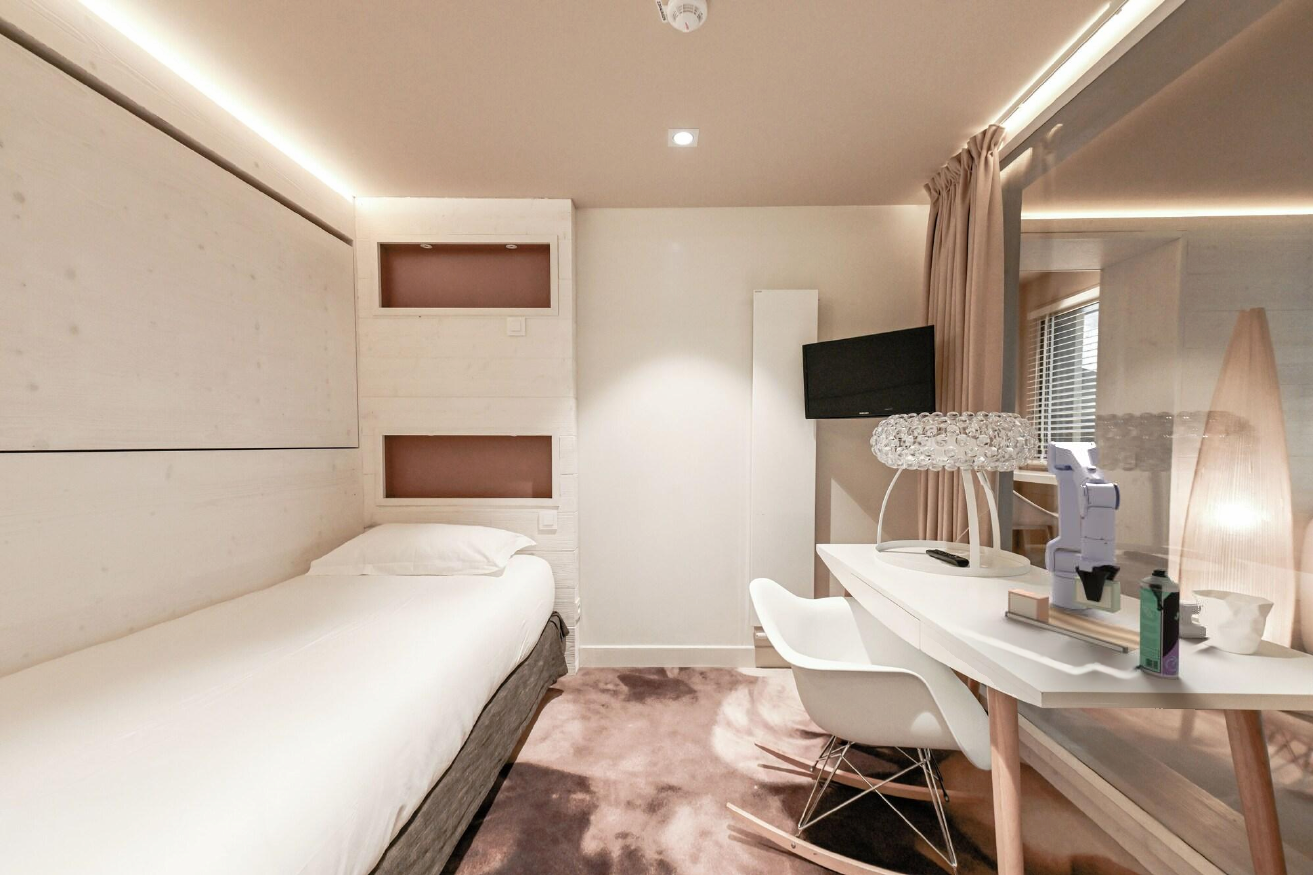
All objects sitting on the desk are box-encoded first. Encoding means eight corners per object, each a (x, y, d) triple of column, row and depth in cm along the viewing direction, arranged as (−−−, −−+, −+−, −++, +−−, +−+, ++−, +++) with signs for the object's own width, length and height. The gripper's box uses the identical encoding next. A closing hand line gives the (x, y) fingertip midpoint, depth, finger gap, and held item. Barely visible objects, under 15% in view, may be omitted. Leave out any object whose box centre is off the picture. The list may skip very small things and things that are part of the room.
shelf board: (1045, 610, 136) (1045, 606, 136) (1165, 644, 114) (1165, 638, 114) (1005, 620, 129) (1005, 615, 129) (1125, 658, 107) (1125, 652, 107)
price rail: (1007, 619, 129) (1007, 610, 129) (1128, 657, 107) (1128, 646, 107) (1005, 620, 129) (1005, 611, 129) (1125, 658, 107) (1125, 647, 107)
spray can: (1182, 681, 97) (1184, 574, 97) (1143, 674, 100) (1144, 570, 100) (1173, 670, 102) (1174, 568, 101) (1136, 663, 105) (1137, 564, 104)
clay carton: (1017, 612, 131) (1018, 588, 131) (1048, 621, 125) (1048, 596, 125) (1007, 614, 129) (1008, 590, 129) (1038, 624, 123) (1038, 598, 123)
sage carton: (1081, 601, 119) (1081, 575, 119) (1120, 609, 113) (1120, 582, 113) (1073, 604, 117) (1073, 577, 117) (1113, 613, 111) (1113, 585, 111)
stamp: (1188, 633, 121) (1188, 597, 121) (1218, 644, 114) (1219, 606, 114) (1149, 632, 121) (1149, 596, 121) (1177, 644, 114) (1177, 606, 114)
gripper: (1088, 531, 122) (1087, 589, 123) (1062, 538, 115) (1062, 599, 115) (1127, 536, 117) (1126, 597, 117) (1103, 543, 109) (1102, 608, 109)
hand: (1097, 599), depth 115 cm, fingers closed on sage carton, 4 cm apart
